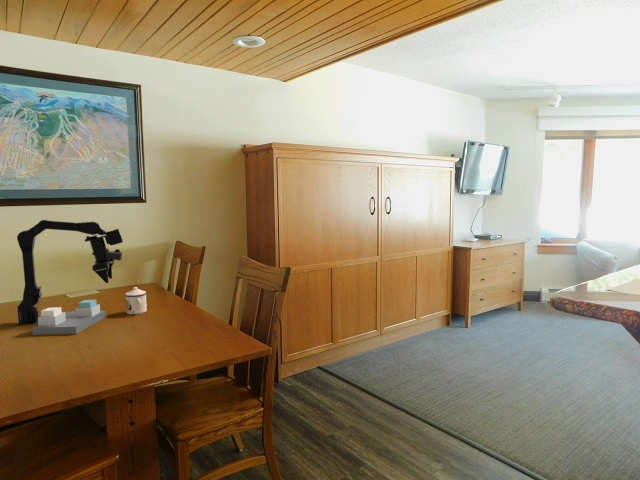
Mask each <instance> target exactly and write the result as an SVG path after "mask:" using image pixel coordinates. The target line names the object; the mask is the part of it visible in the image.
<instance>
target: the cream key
mask: <svg viewBox="0 0 640 480" xmlns="http://www.w3.org/2000/svg"><path fill="white" fill-rule="evenodd" d="M62 312H63V311H62V307H60V306H59V307H47V308H44V309H42V310H40V316H41V317H54V316H57V315H59V314H61V313H62Z"/></svg>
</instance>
